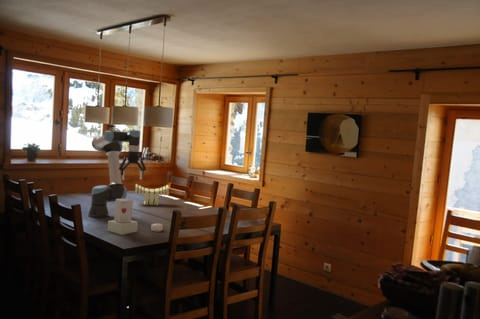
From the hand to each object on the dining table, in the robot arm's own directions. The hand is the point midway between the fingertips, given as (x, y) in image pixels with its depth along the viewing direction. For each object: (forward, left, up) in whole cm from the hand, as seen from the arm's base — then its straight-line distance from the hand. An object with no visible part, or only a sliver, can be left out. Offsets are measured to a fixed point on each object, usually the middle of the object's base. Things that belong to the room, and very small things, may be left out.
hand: (131, 179), depth 302 cm
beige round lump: (+25, +11, -33) cm, 43 cm away
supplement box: (+20, -12, -26) cm, 35 cm away
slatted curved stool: (-66, +45, -33) cm, 86 cm away
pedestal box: (+20, -12, -33) cm, 41 cm away
